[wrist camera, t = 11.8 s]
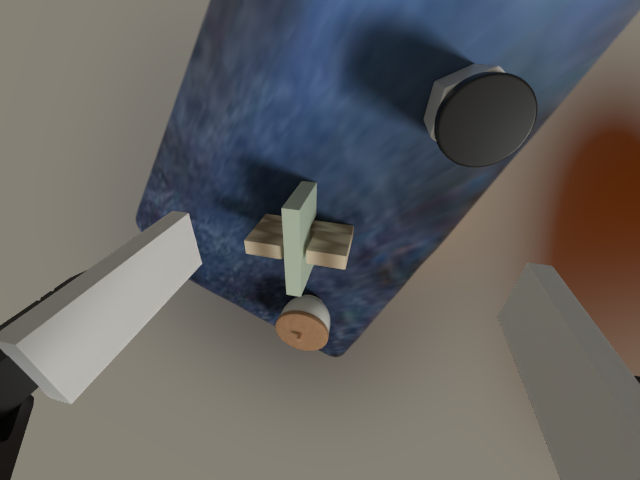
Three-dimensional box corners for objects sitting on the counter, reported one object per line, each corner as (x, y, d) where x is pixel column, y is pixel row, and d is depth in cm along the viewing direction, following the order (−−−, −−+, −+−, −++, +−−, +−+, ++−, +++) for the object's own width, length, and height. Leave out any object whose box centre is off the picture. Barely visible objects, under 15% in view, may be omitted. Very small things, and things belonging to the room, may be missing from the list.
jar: (409, 110, 37) (414, 130, 27) (461, 48, 32) (491, 45, 22) (457, 153, 38) (479, 187, 28) (514, 100, 34) (563, 118, 24)
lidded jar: (284, 313, 64) (269, 347, 57) (290, 280, 58) (274, 314, 51) (329, 327, 64) (320, 364, 56) (339, 295, 57) (331, 332, 50)
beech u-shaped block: (267, 225, 52) (246, 253, 45) (266, 213, 50) (244, 240, 43) (352, 237, 49) (345, 269, 42) (353, 225, 48) (346, 256, 40)
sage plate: (301, 180, 45) (281, 208, 37) (316, 182, 45) (299, 210, 37) (302, 258, 54) (286, 294, 46) (315, 260, 54) (300, 297, 46)
